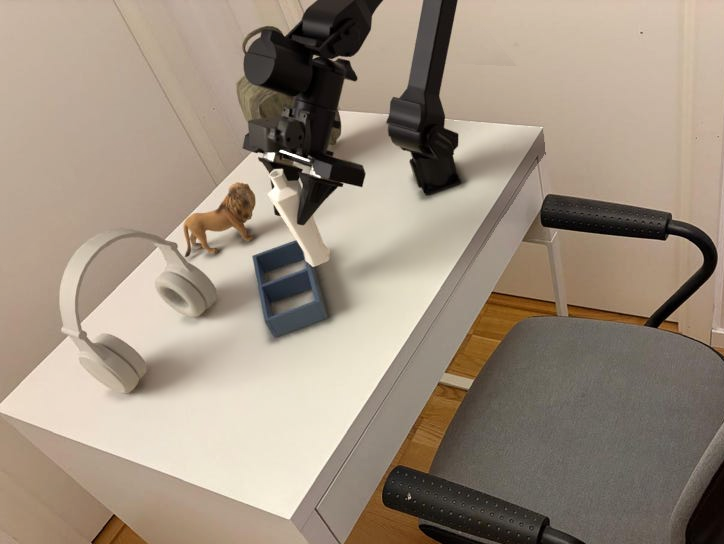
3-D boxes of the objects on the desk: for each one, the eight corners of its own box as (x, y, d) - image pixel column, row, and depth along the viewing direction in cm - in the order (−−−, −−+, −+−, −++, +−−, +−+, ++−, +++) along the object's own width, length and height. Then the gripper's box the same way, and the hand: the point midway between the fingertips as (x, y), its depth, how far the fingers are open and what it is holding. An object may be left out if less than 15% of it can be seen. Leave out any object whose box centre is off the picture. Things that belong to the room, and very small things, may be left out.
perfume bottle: (304, 250, 111) (260, 167, 100) (332, 244, 110) (291, 160, 99) (302, 271, 108) (256, 187, 97) (330, 264, 107) (288, 179, 96)
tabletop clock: (339, 136, 139) (289, 3, 121) (358, 156, 134) (309, 20, 115) (269, 170, 136) (207, 38, 118) (286, 192, 130) (223, 57, 112)
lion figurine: (265, 215, 127) (243, 172, 120) (273, 232, 124) (251, 187, 117) (183, 251, 124) (156, 209, 118) (189, 269, 121) (162, 226, 114)
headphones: (189, 292, 117) (123, 193, 103) (228, 303, 113) (165, 203, 99) (98, 387, 107) (11, 291, 92) (138, 402, 103) (53, 306, 89)
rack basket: (310, 254, 118) (302, 237, 115) (328, 318, 107) (319, 301, 105) (261, 272, 117) (252, 255, 115) (274, 338, 107) (264, 321, 104)
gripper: (221, 76, 97) (198, 194, 100) (317, 104, 87) (288, 233, 91) (287, 98, 106) (263, 205, 109) (380, 125, 96) (351, 241, 100)
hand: (289, 220), depth 102 cm, fingers closed on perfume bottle, 4 cm apart
